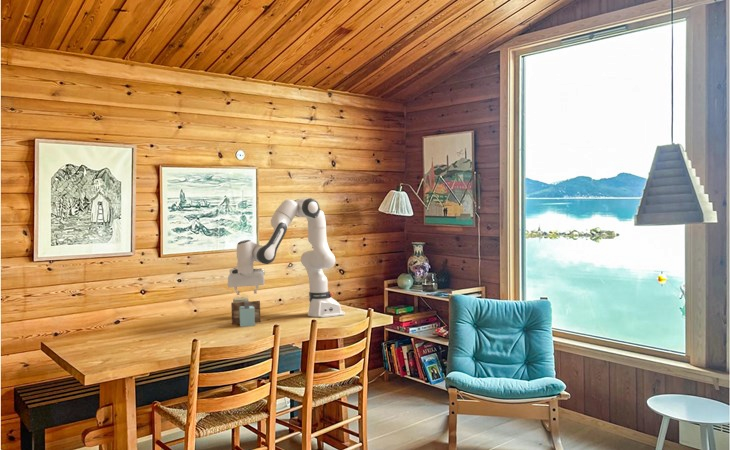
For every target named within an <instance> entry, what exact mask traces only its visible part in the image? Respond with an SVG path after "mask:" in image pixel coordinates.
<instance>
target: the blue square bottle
mask: <svg viewBox="0 0 730 450" xmlns="http://www.w3.org/2000/svg"><path fill="white" fill-rule="evenodd" d="M239 311H240V324H239V327H240V328H244V327H245V328H248V327H255V326H256V322H255V309H254V307H253V306H249V300H248V301H244V306H240V308H239Z"/></svg>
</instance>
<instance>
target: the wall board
mask: <svg viewBox="0 0 730 450" xmlns="http://www.w3.org/2000/svg"><path fill="white" fill-rule="evenodd" d="M248 301H249V300H248ZM240 306H244V302H233V301H232V302H231V308H230V309H231V324H232V325H236V324H237V325H240V311H239V308H240ZM249 306H253V307H254V309H255V323H261V300H251V301H249Z"/></svg>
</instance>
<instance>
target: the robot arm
mask: <svg viewBox="0 0 730 450" xmlns="http://www.w3.org/2000/svg"><path fill="white" fill-rule="evenodd" d="M297 217H298V218H306V220H307V238H308V240H307V241H308V243H309V244H310V245H311V247H312V249H313V250H307V251H304V252H303V253H302V254H301V257H300V262H301V265H302V266H303V267H304V268H305V270H306V273H307V277H308V281H309V283H308V284H309V291H308V301H309V305H308V306H309V307H308V310H307V311H308V312H307V316H308V317H314V318H328V317H329V318H330V317H340V316H345V315H346V312H345V310H342V306H341V304H340V302H338V301H337V300H336V299H334V298H333V296H334V293H333V292H330V291H329V285H328V284H329V281H328V278H327V276H326V275H325V273H324V270H329V269H332V268H333V267H334V266H335V264H336V262H337V261H336V257H335V254H334V253H333V251H331V249H330V246H329V244H328V238H327V223H326V216H325V213H324V211H323V210H321V208H320V205H319V203H318V201H317V200H316V199H314V198H309V197H308V198H307V197H304V198H298V199H295V200H293V199H291V198H287V199H285V200H283V201H282V202H281V203H280V204H279V206H278V207H277V208H276V210H275V211H274V213H273V214H272V216H271V219H270V225H271V227H272V228H273V232H272V234H271V236H270V237H269V239H268V240H267V241H268V242H267V243H266V244H264V245H260V244H257V243H255V242H253V241H251V240H250V239H245V240H241V241H239V242H238V243H237V245H236V259H237V264H236V267H233V268H230V269H229V271H228V272H229V275H228V277H227V287H228V288H234V291H235V292H236V295H237V296H240V291H239V290H238V288H241V287H250V286H251V287H253V286H255V289H254V290H253V294H257V291H258V289H259V286H264V285H265V282H266V281H265V273H266V271H265V269H263V268H254V262H256V263H260V264H263V265H269V264H272V263H273V262H274V260H276V256H277V251H278V249H279V246H280V245H281V242H283V241H282V240H283V239H284V237H285V235H286V233H287V231H288V228H289V226H290V225H291V223H292V222H293V220H294V219H295V218H297Z"/></svg>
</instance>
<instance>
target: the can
mask: <svg viewBox="0 0 730 450" xmlns="http://www.w3.org/2000/svg"><path fill="white" fill-rule="evenodd" d="M244 301H249V297H247V296H246V297H243V296H241V297H234V298H232V303H233V302H244Z"/></svg>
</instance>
